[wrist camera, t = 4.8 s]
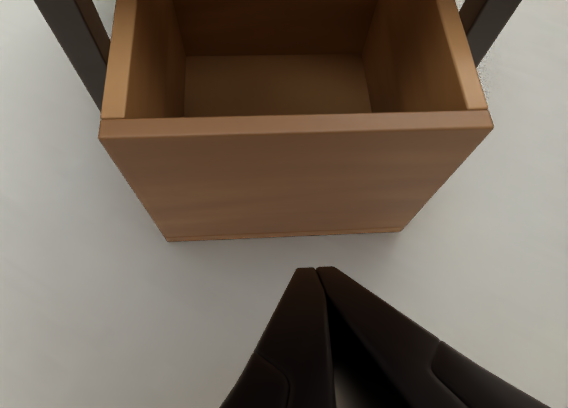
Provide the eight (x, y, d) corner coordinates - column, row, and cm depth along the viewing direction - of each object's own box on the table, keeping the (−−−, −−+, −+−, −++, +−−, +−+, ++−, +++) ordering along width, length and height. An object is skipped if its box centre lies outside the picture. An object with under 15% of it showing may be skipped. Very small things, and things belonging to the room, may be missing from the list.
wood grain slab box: (401, 232, 18) (495, 127, 11) (167, 242, 17) (96, 138, 10) (368, 53, 22) (421, -112, 15) (176, 56, 21) (131, -116, 14)
